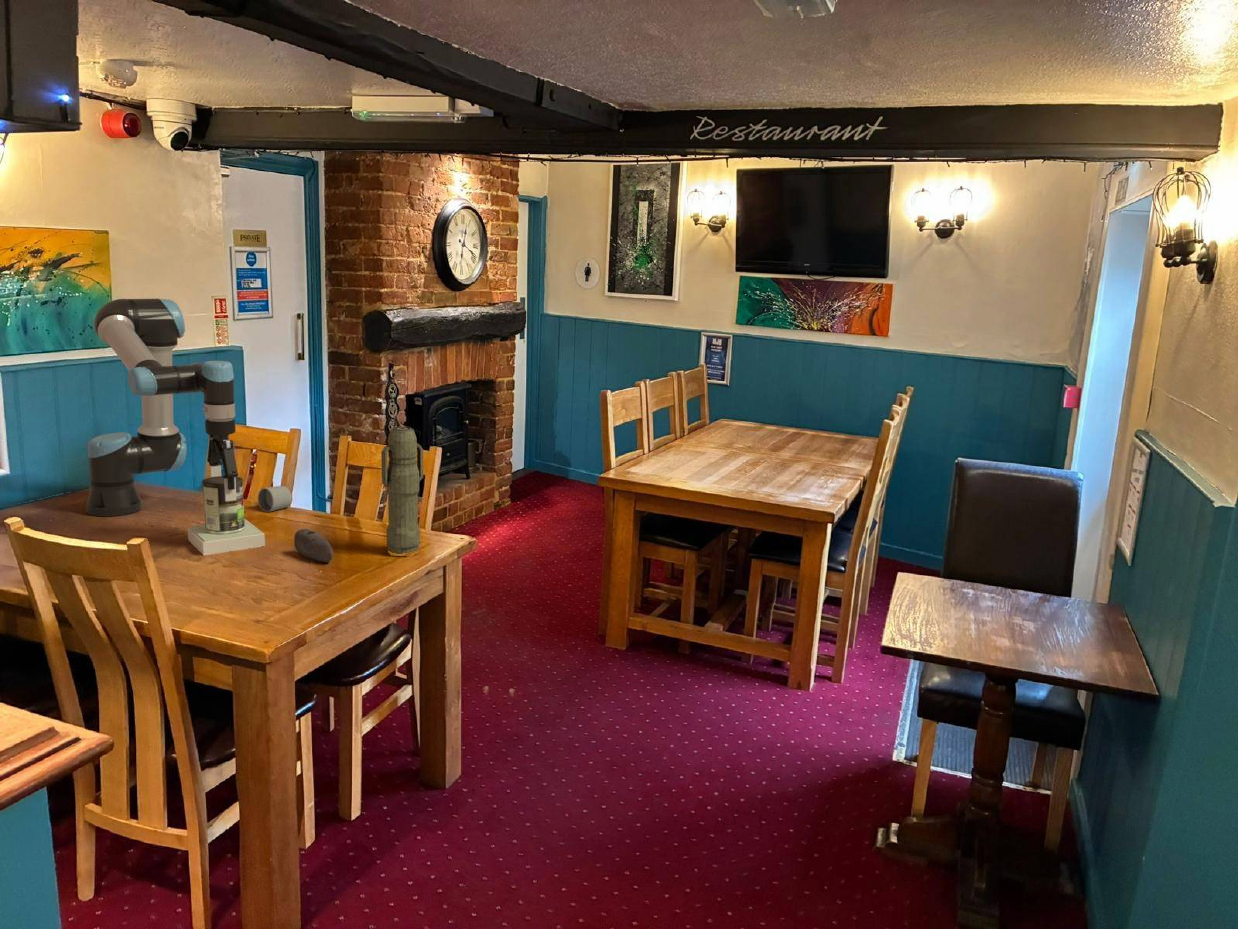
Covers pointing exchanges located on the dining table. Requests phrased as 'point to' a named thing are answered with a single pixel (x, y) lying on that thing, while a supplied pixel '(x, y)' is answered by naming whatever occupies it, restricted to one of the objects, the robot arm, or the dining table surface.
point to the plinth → (225, 539)
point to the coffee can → (222, 507)
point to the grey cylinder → (274, 498)
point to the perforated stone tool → (313, 545)
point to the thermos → (402, 489)
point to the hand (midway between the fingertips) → (223, 494)
